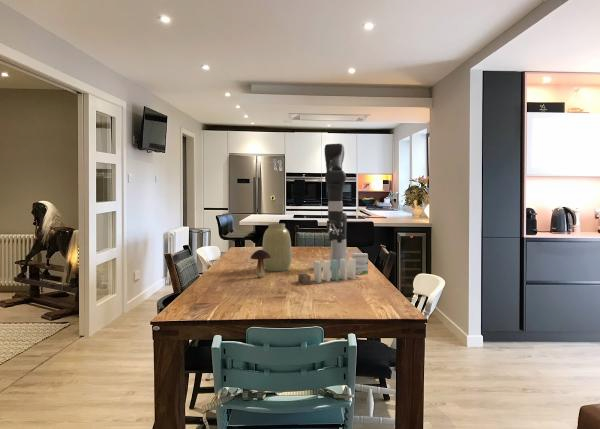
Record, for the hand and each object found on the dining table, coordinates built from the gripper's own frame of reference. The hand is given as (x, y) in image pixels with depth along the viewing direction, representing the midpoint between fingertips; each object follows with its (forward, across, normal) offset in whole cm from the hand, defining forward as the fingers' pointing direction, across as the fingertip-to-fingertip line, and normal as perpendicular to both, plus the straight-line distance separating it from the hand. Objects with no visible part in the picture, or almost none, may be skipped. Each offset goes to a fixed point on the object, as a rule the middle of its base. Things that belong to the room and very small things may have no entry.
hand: (335, 241), depth 227 cm
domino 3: (+20, 0, 0) cm, 20 cm away
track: (+20, 0, -4) cm, 21 cm away
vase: (+21, -45, -14) cm, 51 cm away
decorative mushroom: (+21, -26, -31) cm, 45 cm away
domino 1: (+20, 0, -10) cm, 22 cm away
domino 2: (+20, 0, -5) cm, 20 cm away
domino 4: (+20, 0, +5) cm, 20 cm away
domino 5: (+20, 0, +10) cm, 22 cm away
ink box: (+21, -11, +22) cm, 32 cm away
